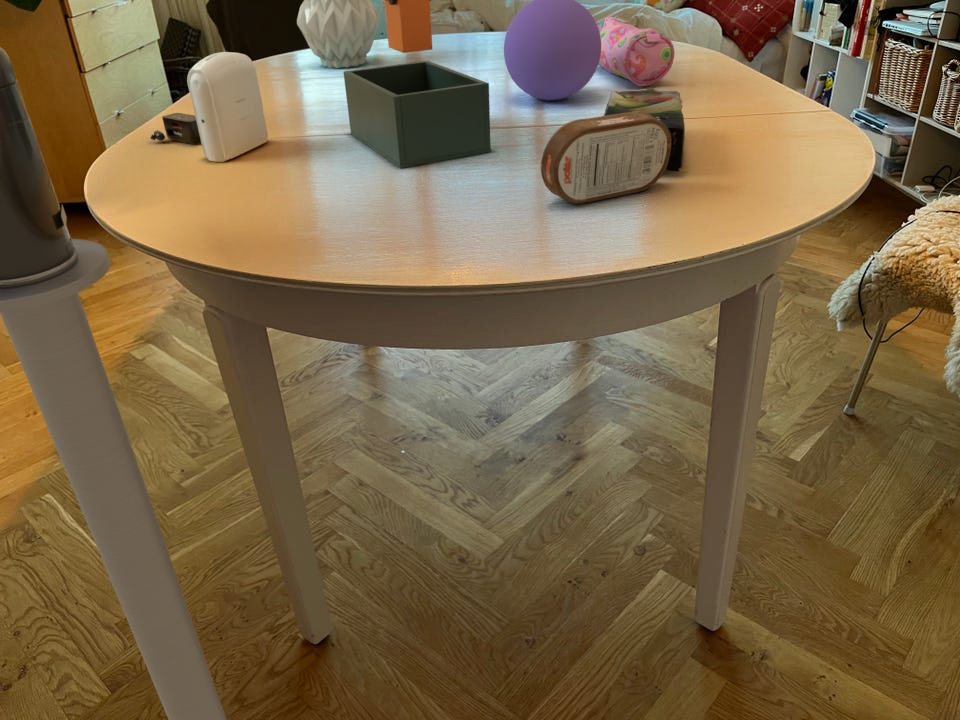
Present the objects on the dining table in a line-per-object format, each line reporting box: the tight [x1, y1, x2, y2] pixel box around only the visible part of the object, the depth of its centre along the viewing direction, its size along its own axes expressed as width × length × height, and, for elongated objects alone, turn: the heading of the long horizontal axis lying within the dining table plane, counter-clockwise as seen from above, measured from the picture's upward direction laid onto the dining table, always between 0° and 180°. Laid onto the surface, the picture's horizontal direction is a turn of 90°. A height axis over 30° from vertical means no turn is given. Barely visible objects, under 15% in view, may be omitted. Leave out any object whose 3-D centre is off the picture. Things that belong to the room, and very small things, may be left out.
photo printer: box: [186, 51, 269, 163], centre depth 99 cm, size 10×4×12 cm, turn 158°
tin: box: [540, 111, 672, 205], centre depth 80 cm, size 15×3×8 cm, turn 115°
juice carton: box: [603, 88, 686, 172], centre depth 94 cm, size 20×10×6 cm, turn 169°
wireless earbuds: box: [150, 112, 202, 145], centre depth 106 cm, size 5×7×3 cm, turn 56°
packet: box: [384, 0, 433, 54], centre depth 94 cm, size 4×5×10 cm
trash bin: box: [343, 60, 492, 169], centre depth 100 cm, size 13×19×8 cm
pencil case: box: [597, 15, 675, 87], centre depth 132 cm, size 21×9×9 cm, turn 11°
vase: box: [296, 0, 381, 69], centre depth 148 cm, size 16×16×18 cm
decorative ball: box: [503, 0, 601, 101], centre depth 117 cm, size 15×15×15 cm
